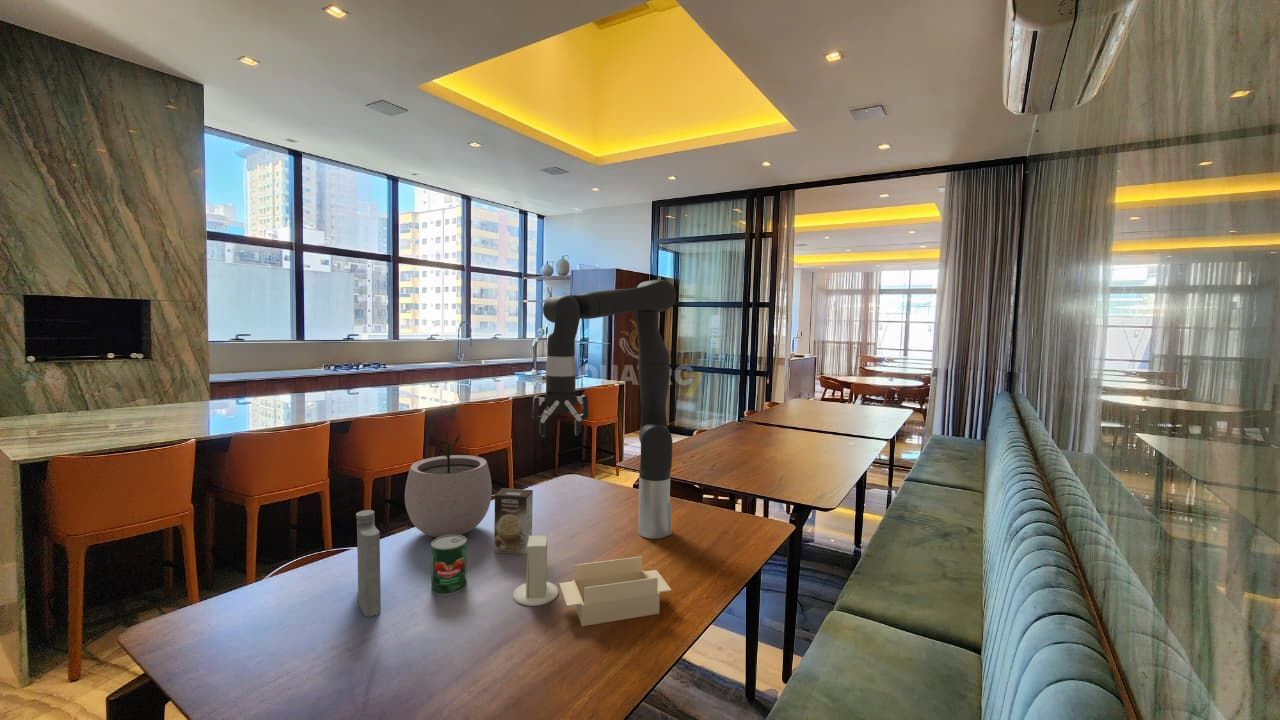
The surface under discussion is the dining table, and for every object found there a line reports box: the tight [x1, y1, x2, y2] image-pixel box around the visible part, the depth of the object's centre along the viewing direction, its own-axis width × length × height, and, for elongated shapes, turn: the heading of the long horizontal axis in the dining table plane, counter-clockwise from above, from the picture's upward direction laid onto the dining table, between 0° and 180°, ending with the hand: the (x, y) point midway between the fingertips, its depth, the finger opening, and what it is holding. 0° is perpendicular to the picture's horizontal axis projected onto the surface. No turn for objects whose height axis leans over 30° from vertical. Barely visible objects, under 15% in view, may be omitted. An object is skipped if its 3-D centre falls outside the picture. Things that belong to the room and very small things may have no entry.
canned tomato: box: [430, 535, 468, 596], centre depth 121 cm, size 8×8×11 cm
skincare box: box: [525, 534, 548, 598], centre depth 119 cm, size 6×4×12 cm
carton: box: [558, 555, 672, 627], centre depth 114 cm, size 23×11×8 cm, turn 108°
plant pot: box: [404, 432, 493, 538], centre depth 152 cm, size 24×24×30 cm
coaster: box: [513, 581, 559, 607], centre depth 119 cm, size 10×10×1 cm
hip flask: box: [355, 509, 382, 617], centre depth 115 cm, size 16×4×20 cm, turn 31°
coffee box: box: [493, 487, 534, 555], centre depth 142 cm, size 9×6×16 cm
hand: (560, 435), depth 135 cm, fingers open, 8 cm apart
